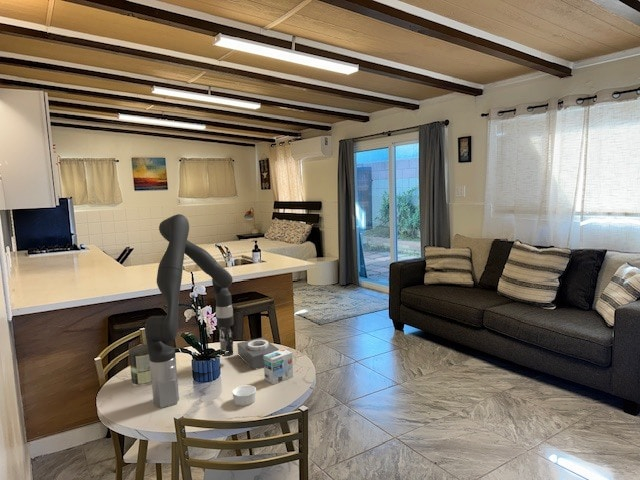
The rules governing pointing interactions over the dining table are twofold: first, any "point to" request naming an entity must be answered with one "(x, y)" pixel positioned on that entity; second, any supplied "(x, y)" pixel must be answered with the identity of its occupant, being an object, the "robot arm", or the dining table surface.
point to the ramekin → (244, 395)
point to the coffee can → (140, 365)
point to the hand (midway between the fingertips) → (226, 351)
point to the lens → (223, 347)
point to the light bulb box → (278, 366)
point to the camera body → (255, 351)
